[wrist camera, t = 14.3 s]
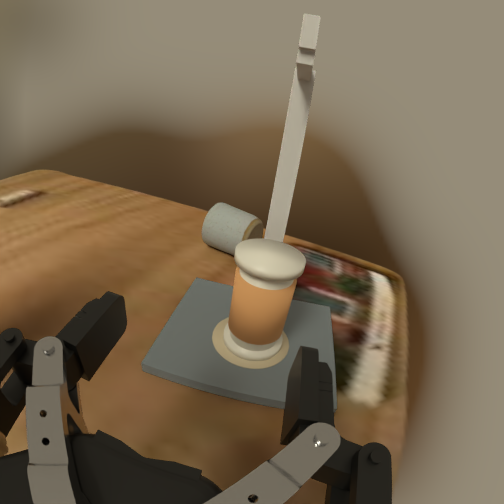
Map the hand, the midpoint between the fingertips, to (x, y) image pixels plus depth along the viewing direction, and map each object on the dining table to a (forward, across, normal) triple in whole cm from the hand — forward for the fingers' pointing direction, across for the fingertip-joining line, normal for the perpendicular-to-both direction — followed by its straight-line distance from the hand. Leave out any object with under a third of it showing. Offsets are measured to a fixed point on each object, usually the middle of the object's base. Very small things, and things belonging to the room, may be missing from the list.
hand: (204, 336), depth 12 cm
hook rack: (+14, -2, +13) cm, 19 cm away
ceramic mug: (+35, +5, +14) cm, 38 cm away
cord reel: (+13, -2, +12) cm, 18 cm away
